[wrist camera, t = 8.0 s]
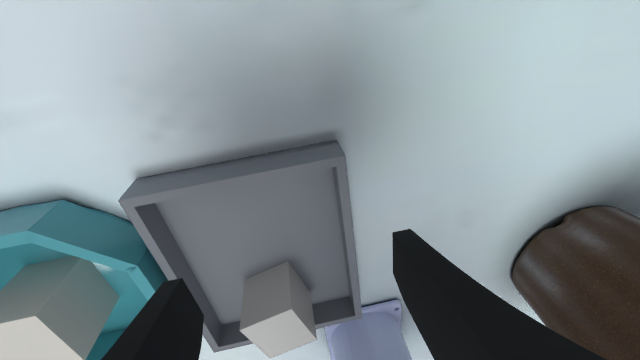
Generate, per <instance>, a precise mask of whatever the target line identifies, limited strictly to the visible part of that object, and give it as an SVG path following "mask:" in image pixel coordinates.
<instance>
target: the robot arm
mask: <svg viewBox="0 0 640 360" xmlns="http://www.w3.org/2000/svg"><path fill="white" fill-rule="evenodd" d="M393 274H394V277H395V279H396V282H397V285H398V287H399V290H400V292H401V295H402V297H403V300H404V302H405V304H406V306H407V308H408V310H409V312H410V314H411V316H412V318H413V320H414V322H415V323H416V325H417V327H418V329H419V331H420V333H421V335H422V337H423V339H424V341H425V343H426V345H427V346H428V348H429V350H430V352H431V354H432V356H433V358H434V360H607V359H605V358H603V357H601V356H599V355H597V354H595V353H593V352H592V351H590V350H588V349H586V348H584V347H582V346H580V345H578V344H577V343H575V342H573V341H571V340H569V339H567V338H565V337H564V336H562V335H560V334H558V333H556V332H555V331H553V330H551V329H550V328H548V327H546V326H544V325H543V324H541V323H539V322H537V321H536V320H534V319H533V318H531V317H529V316H528V315H526V314H524V313H523V312H521V311H520V310H518V309H516V308H515V307H513V306H512V305H510V304H509V303H507V302H506V301H504V300H503V299H501V298H500V297H498V296H497V295H495V294H494V293H492V292H491V291H489V290H488V289H487V288H485V287H484V286H482V285H481V284H479V283H478V282H477V281H475V280H474V279H472V278H471V277H470V276H468V275H467V274H466V273H464V272H463V271H462V270H460V269H459V268H458V267H457V266H455V265H454V264H453V263H451V262H450V261H449V260H447V259H446V258H445V257H444V256H442V255H441V254H440V253H439V252H437V251H436V250H435V249H434V248H433V247H431V246H430V245H429V244H428V243H427V242H425V241H424V240H423V239H422V238H421V237H419V236H418V235H417V234H416V233H415V232H413V231H412V230H411V229H407V230H402V231H398V232H393ZM361 309H362V318H361V319H357V320H353V321H348V322H344V323H340V324H335V325H331V326H327V327H324V329H325V333H326V337H327V342H328V346H329V350H330V355H331V359H332V360H412V358H411V355H410V353H409V350H408V348H407V346H406V343H405V341H404V338H403V336H402V333H401V302H400V301H399V300H393V301H389V302H384V303H380V304H375V305H371V306H367V307H362V308H361ZM203 323H204V314H203V312H202V311H201V309H200V307H199V306H198V304H197V302H196V300H195V299H194V297H193V295H192V294H191V292H190V290H189V289H188V287H187V285H186V284H185V282H184V280H183V278H179V279H174V280H170V281H165V282H163V283H162V284H161V286H160V287H159V288H158V289H157V290H156V292H155V293H154V294H153V295H152V297H151V298H150V299H149V300H148V302H147V303H146V304H145V306H144V307H143V308H142V309H141V311H140V312H139V313H138V314H137V316H136V317H135V318H134V319H133V321H132V322H131V323H130V325H129V326H128V327H127V328H126V329H125V331H124V332H123V333H122V334H121V336H120V337H119V338H118V339H117V341H116V342H115V343H114V344H113V346H112V347H111V348H110V349H109V351H108V352H107V353H106V354H105V355H104V356H103V358H102V359H101V360H198V359H199V354H200V349H201V342H202V334H203Z"/></svg>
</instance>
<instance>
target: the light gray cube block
mask: <svg viewBox="0 0 640 360" xmlns="http://www.w3.org/2000/svg"><path fill="white" fill-rule="evenodd" d="M239 331H241V332H242V333H243V334H244V335H245V336H246V337H247V338H248V339H249V340H250V341H251V342H253V343H254V344H255V345H256V346H257V347H258V348H259V349H260V350H261V351H262V352H263V353H264V354H266V355H267V356H268V357H269V358H273V357H275V356H278V355H280V354H283V353H285V352H288V351H290V350H293V349H295V348H298V347H300V346H302V345H305V344H307V343H310V342H312V341H315V340H317V337H316V329H315V322H314V315H313V308H312V301H311V294H310V291H309V289H308V288H307V286H306V285H305V284H304V282H303V281H302V280H301V278H300V277H299V275H298V274H297V273H296V271H295V270H294V268H293V267H292V266H291V264H290V263H289V262H288V261H287V262H285V263H282V264H280V265H278V266H276V267H273V268H271V269H269V270H266V271H264V272H262V273H259V274H257V275H255V276H252V277H250V278H248V279H245V281H244V291H243V300H242V310H241V320H240V330H239Z"/></svg>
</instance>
